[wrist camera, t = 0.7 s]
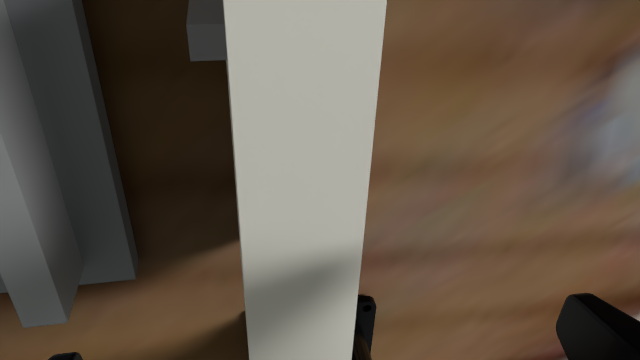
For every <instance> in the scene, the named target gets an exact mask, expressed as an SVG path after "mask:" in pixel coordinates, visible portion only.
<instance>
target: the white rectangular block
mask: <svg viewBox="0 0 640 360" xmlns="http://www.w3.org/2000/svg"><path fill="white" fill-rule="evenodd" d="M386 3H387V0H189V5H188V13H187V22H186V27H187V36H188V45H189V54H190V61H213V60H226V65H227V78H228V92H229V105H230V119H231V132H232V146H233V159H234V173H235V186H236V200H237V213H238V226H239V238H240V251H241V264H242V276H243V289H244V301H245V314H246V326H247V339H248V351H249V360H352V350H353V340H354V330H355V319H356V309H357V299H358V289H359V279H360V268H361V258H362V248H363V238H364V228H365V217H366V207H367V197H368V187H369V177H370V166H371V156H372V146H373V136H374V126H375V115H376V105H377V95H378V85H379V75H380V64H381V54H382V44H383V34H384V24H385V13H386Z"/></svg>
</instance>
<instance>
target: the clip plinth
mask: <svg viewBox="0 0 640 360" xmlns="http://www.w3.org/2000/svg"><path fill="white" fill-rule="evenodd" d="M138 264H139V258H138V254H137V249H136V244H135V240H134V235H133V231H132V226H131V222H130V217H129V213H128V208H127V204H126V199H125V194H124V190H123V185H122V181H121V176H120V172H119V167H118V163H117V158H116V154H115V149H114V144H113V140H112V135H111V131H110V126H109V122H108V117H107V113H106V108H105V104H104V99H103V94H102V90H101V85H100V81H99V76H98V72H97V67H96V63H95V58H94V54H93V49H92V44H91V40H90V35H89V31H88V26H87V22H86V17H85V13H84V8H83V4H82V0H0V293H7V292H8V293H9V295H10V298H11V300H12V302H13V305H14V307H15V310H16V312H17V314H18V317H19V319H20V321H21V324H22V326H23V328H26V327H35V326H43V325H52V324H61V323H68V320H69V316H70V313H71V310H72V306H73V303H74V299H75V296H76V292H77V289H78V285H84V284H94V283H104V282H114V281H123V280H133V279H136V276H137V270H138Z"/></svg>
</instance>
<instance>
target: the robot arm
mask: <svg viewBox="0 0 640 360" xmlns="http://www.w3.org/2000/svg"><path fill="white" fill-rule="evenodd" d="M366 305H367V306H366ZM375 313H376V304H375V301H374V299H373V298H372V297H370V296H361V297H358V299H357V309H356V319H355V330H354V340H353V350H352V360H372V359H371V355H370V352H371V344H372V336H373V328H374V321H375ZM556 331H557V335H558V338H559V340H560V342H561V345H562V347H563V349H564V351H565V354H566V356H567V358H568V360H640V321H638V320H636V319H635V318H633V317H631V316H629V315H628V314H626V313H624V312H622V311H621V310H619V309H617V308H616V307H614V306H612V305H610V304H609V303H607V302H605V301H603V300H602V299H600V298H598V297H597V296H595V295H593V294H590V293H580V294H572V295H569V296H568V297H567V298H566V300H565V302H564V305H563V307H562V310H561V312H560V315H559V317H558V320H557V323H556ZM48 360H83V359H82V357H81V355H80V354H79V353H77V352H72V353H63V354H56V355H53V356H52V357H50V358H49V359H48Z"/></svg>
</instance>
